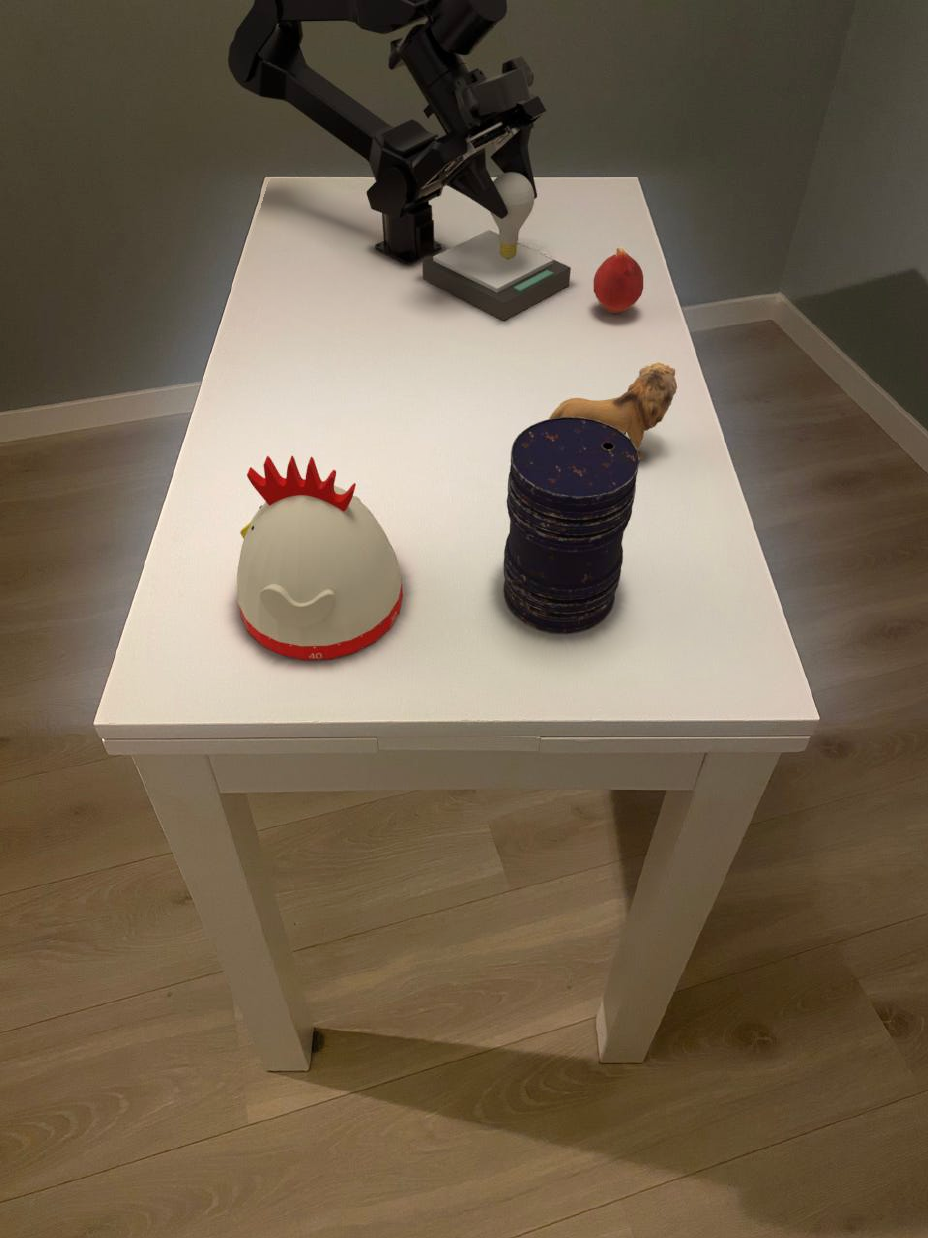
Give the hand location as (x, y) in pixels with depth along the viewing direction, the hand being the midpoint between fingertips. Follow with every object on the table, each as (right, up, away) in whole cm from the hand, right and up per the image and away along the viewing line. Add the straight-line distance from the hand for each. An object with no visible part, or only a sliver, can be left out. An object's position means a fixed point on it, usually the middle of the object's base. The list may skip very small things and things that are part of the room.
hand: (519, 207), depth 108 cm
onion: (+12, -11, +5) cm, 17 cm away
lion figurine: (+7, -31, -13) cm, 34 cm away
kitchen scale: (-2, -5, +9) cm, 11 cm away
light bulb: (-1, -4, +6) cm, 7 cm away
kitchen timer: (-19, -46, -27) cm, 56 cm away
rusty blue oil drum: (+2, -45, -27) cm, 53 cm away
